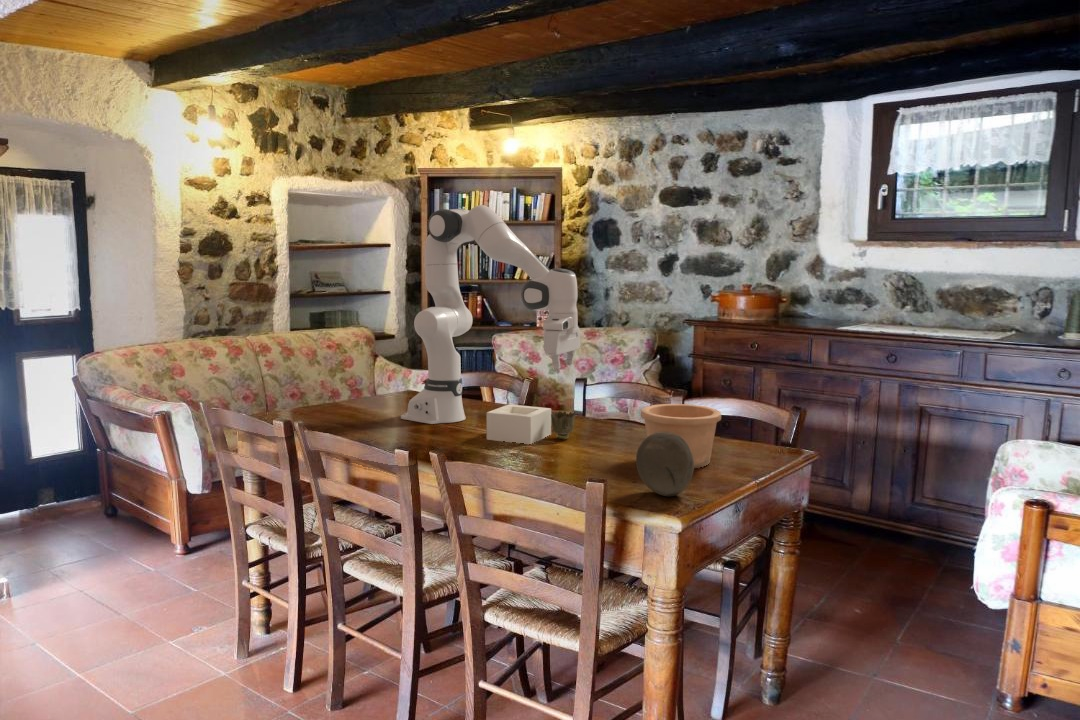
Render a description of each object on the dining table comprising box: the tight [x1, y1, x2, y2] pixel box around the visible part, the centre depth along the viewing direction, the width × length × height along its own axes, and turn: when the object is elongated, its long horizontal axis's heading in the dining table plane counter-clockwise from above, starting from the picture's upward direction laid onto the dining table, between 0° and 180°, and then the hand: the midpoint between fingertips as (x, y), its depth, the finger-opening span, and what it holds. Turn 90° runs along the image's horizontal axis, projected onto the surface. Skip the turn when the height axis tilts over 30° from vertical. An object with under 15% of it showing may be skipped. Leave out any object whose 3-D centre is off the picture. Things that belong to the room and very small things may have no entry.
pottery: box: [640, 403, 722, 469], centre depth 228 cm, size 22×22×14 cm
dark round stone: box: [635, 433, 695, 497], centre depth 197 cm, size 14×14×15 cm
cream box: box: [486, 404, 552, 445], centre depth 257 cm, size 15×15×8 cm
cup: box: [551, 411, 576, 441], centre depth 255 cm, size 8×7×8 cm
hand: (563, 367), depth 253 cm, fingers open, 8 cm apart
